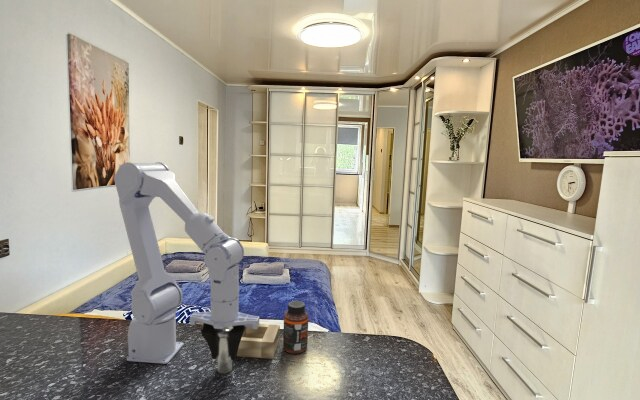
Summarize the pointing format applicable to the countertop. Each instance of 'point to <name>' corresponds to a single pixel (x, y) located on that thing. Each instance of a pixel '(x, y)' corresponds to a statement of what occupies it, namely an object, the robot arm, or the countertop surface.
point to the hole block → (259, 341)
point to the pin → (224, 350)
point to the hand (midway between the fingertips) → (224, 356)
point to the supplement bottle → (295, 328)
